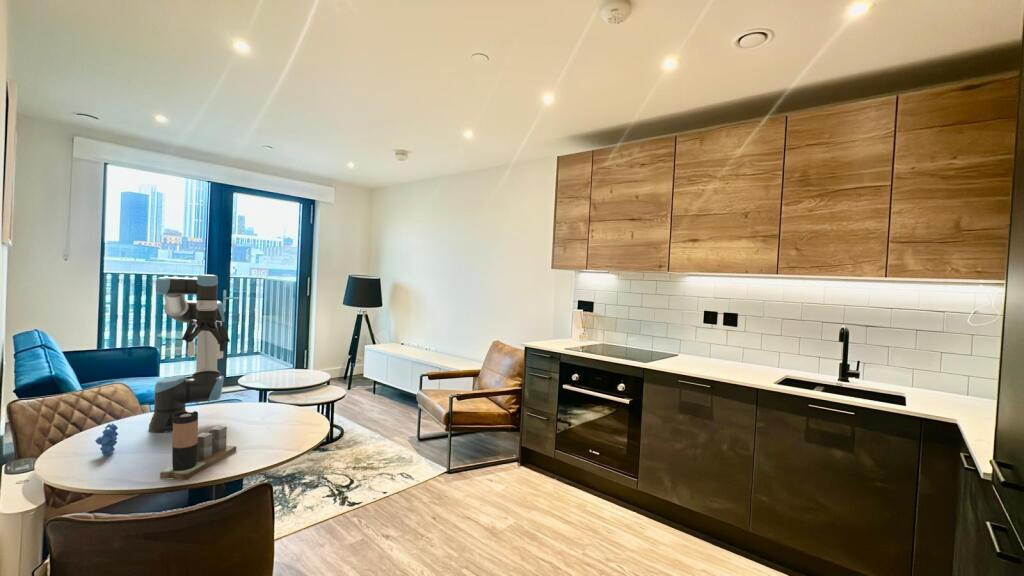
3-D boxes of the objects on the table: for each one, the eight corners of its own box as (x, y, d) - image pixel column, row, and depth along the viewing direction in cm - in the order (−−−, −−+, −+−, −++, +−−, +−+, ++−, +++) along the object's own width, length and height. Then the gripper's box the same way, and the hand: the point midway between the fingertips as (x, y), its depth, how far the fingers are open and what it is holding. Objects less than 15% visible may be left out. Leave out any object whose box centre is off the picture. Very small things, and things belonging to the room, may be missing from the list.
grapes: (100, 449, 178) (100, 421, 177) (121, 447, 181) (122, 419, 180) (89, 461, 167) (89, 430, 167) (112, 458, 171) (112, 428, 170)
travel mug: (176, 473, 157) (178, 419, 156) (167, 467, 161) (169, 414, 160) (200, 465, 164) (202, 413, 163) (191, 460, 168) (192, 409, 167)
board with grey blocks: (160, 477, 158) (160, 448, 157) (213, 449, 184) (214, 423, 183) (186, 480, 157) (186, 450, 157) (236, 450, 183) (237, 425, 183)
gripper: (172, 308, 188) (171, 357, 189) (227, 312, 187) (226, 360, 188) (186, 307, 196) (185, 353, 197) (239, 310, 194) (238, 357, 195)
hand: (205, 357), depth 192 cm, fingers open, 13 cm apart
